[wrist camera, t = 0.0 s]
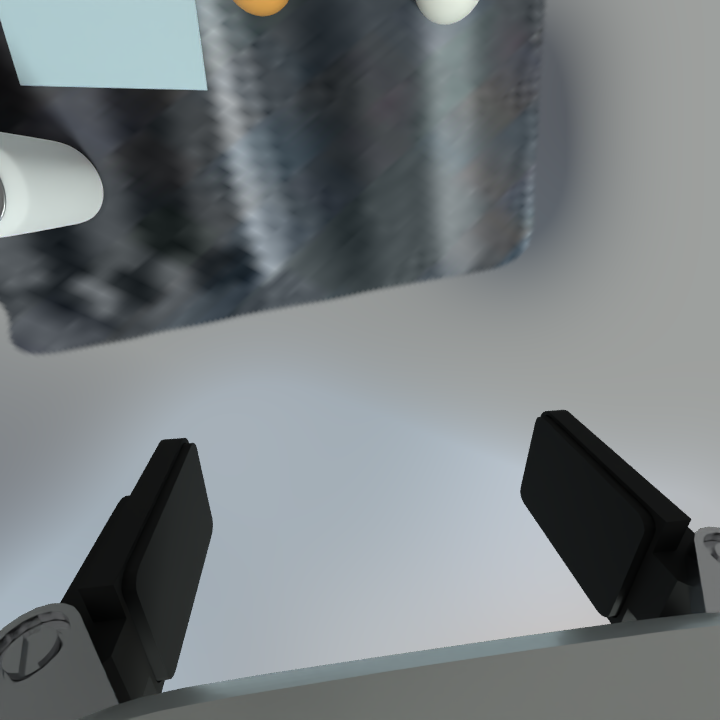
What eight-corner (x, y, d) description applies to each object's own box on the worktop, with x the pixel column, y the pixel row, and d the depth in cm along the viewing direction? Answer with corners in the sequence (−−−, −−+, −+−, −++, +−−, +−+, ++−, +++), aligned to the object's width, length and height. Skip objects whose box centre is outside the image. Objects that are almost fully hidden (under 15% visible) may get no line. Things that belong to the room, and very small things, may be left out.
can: (41, 122, 31) (-98, 90, 21) (119, 178, 34) (31, 177, 23) (8, 189, 33) (-137, 192, 22) (85, 238, 35) (-12, 264, 24)
